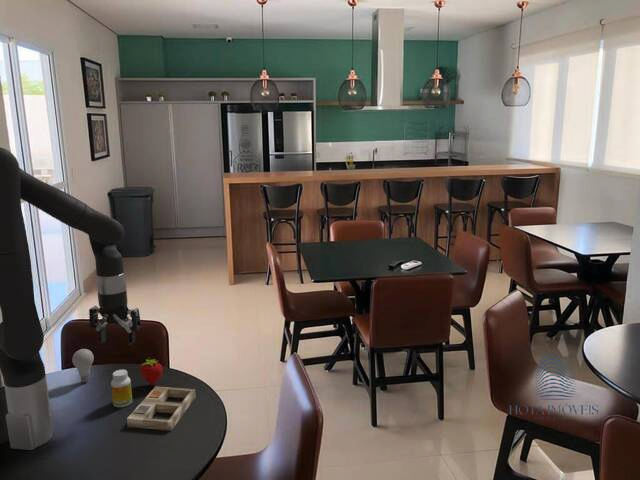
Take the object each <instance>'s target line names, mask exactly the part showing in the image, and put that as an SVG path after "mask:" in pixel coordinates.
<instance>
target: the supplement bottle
mask: <svg viewBox="0 0 640 480" xmlns="http://www.w3.org/2000/svg"><path fill="white" fill-rule="evenodd" d="M110 388H111V398H112V399H111V400H112V405H113V406H114V407H116V408H124V407H127V406H129V405H130V404H132V403H133V392H132V390H133V389H132V381H131V378H130V377H129V375H128V371H127V369H118V370H115V371H114V372H113V373H112V380H111V382H110Z"/></svg>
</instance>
